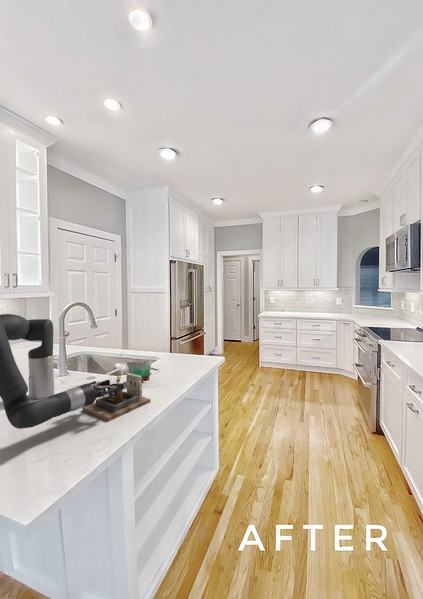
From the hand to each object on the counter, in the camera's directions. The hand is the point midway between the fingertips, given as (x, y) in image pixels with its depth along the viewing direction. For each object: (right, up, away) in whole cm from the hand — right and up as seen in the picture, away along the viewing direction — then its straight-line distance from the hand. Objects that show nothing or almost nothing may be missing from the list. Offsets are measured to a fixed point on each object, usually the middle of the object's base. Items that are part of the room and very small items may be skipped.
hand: (116, 384), depth 116 cm
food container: (+2, -7, +30) cm, 31 cm away
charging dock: (0, -9, +1) cm, 9 cm away
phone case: (+2, -7, +48) cm, 49 cm away
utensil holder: (-1, -8, +1) cm, 8 cm away
